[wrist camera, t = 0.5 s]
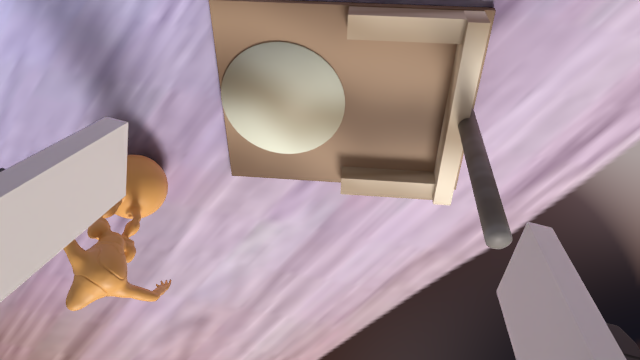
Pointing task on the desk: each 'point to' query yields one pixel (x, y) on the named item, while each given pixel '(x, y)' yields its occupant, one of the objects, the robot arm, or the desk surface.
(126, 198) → the figurine
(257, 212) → the desk surface
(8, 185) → the robot arm
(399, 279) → the desk surface
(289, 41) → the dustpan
